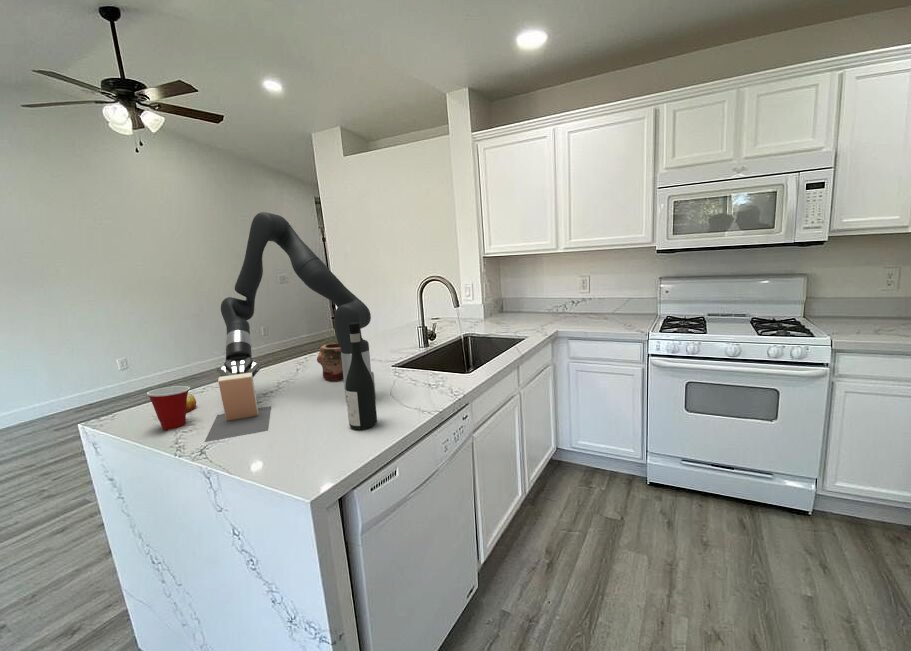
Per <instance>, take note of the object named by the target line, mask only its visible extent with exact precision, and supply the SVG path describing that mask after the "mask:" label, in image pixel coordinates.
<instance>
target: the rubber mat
mask: <svg viewBox="0 0 911 651" xmlns="http://www.w3.org/2000/svg"><path fill="white" fill-rule="evenodd" d="M258 411H259V412H258V416H252V417H246V418H240V419H234V420H228V421H226V417H225V413H220V414H216V417H215V419H214V420H213V422H212V425H211V427H210V429H209V431H208V433H207V435H206V438H205V440H204V443H206V442H207V443H208V442H212V441H217V440H218V441H219V440H223V439H230V438H234V437H240V436H247V435H252V434H259V433H262V432H267V431H268V432H269V426H270V418H271V413H272V405H271V406H265V407H258Z"/></svg>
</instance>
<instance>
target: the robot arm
mask: <svg viewBox="0 0 911 651" xmlns="http://www.w3.org/2000/svg"><path fill="white" fill-rule="evenodd" d="M268 242H274V243H275V244H276V245H278V246H279V247H280V248H281V249H282V250H283V252H285V253H286V255H287V256H288V258H289V259H290V260H289V261H290V263H291V266H292V269H293V272H294V273H295V274H296V275H297V277H298V278H299V279H300V280H301V281H302V282H303V283H304V285H306V287H308V288H309V289H310V290H312V291H313V292H314V293H317V294H318V295H320V296H322V297H324V298H326V299H327V300H329V301H331V302H332V303H333V304H334V305H335V306H336V309H335V311H334V318H333V320H334V330H335V335H336V336H335V337H336V340H337V343H338V344H339V346H340V349H341V357H342V368H343V378H344V380H343V386H344V395H345V398H346V390H345V387H346V378H347V374H348V371H349V368H350V364H351V359H352V350H351V340H350V331H349V327H348V324H349V323H354V322H358V323H359V324H360V330H359V331H360V343H361V353H362V357H363V360H364V362H365V365H366V367H367V368H368V370H369V372H370V374H371V377H372V380H373V383H374V390H375V391H376V387H375V386H376V384H375V383H376V382H375V373H374V371H372V365H371V357H370V356H371V353H370V344H369V342H368V340H366V339H364V338H363V336H362V331H361V330H362V329H364V328H366V327H367V326H369V324H370V323H371V320H372V315H371V314H372V313H371V311H370V309H369V307H368V306H367V305H366V304H365V303H364V302H363V301H362V300H361V299H359V297H357V295H355V294H354V293H353V292H351V290H350V289H348V288H347V286H346V285H344V284H343V283H342V282H341V280H340V279H339V278H338V277H337V276H336V275H335V274H334V273H333V272H332V271H331V270H330V269H329V267H328V266H327V265H326V264H325V263H324V262H323V261H322V259H321V258H320V257H319V256H317V255H316V253H314V252H313V250H312V249H311V248H310V247H309V246H308V245H307V244H306V243H305V242H304V241H303V240H302V239H301V237H300V236H299V235H298V233H296V231H295V229H294V228H293V227H292V226H291V224H290V223H289V221H288V220H287V219H286V218H285V217H283V216H281V215H279V214H275V213H271V212H265V211H261V212H258V213H256V214H255V216H254V217H253V219H252V221H251V224H250V229H249V234H248V240H247V243H246V244H247V245H246V250H245V255H244V258H243V259H244V260H243V263H242V266H241V269H240V271H239V274H238V277H237V279H236V282H235V284H234V291H235V292H236V293H237V294H239V295H240V296H243V297H245V300H244V299H240V298H236V297H231V296H227V297H225V298H224V299H223V300H222V302H221V304H220V313H221V316H222V319H223V321H224V324H225V327H226V339H225V362H224V363H223V366H222V367H218V368H216V372H217V374H218V375H219V377H222V376H230V375H237V374H245V373H252V375H253V378H254V377H255V376H256V374H258V372H260V370H261V365H260V363H259V362H254V360H253V356H252V339H251V333H250V332H251V331H250V330H251V329H250V324H249V323H250V322H248V321H249V320H251V319H252V317H253V316H254V314H255V303H256V302H255V300H256V296H257V292H258V289H259V286H260V284H261V282H262V280H263V279H262V278H263V274H264V267H263V257H264V256H263V254H264V251H265V248H266V246H267V244H268ZM227 371H228V372H229V373H230V375H229V374H228V373H227ZM376 395H377V394H376V393H375V400H376V398H377V396H376ZM345 402H346V404H347V400H346V399H345Z"/></svg>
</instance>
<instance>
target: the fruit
mask: <svg viewBox="0 0 911 651" xmlns="http://www.w3.org/2000/svg"><path fill="white" fill-rule="evenodd" d="M196 406H197V400H196V398H195V396H194V395H193V394H192V393H189V392H188V395H187V406H186V414H187V413H188V412H190V411H193V410H194V409H195V408H196Z"/></svg>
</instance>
